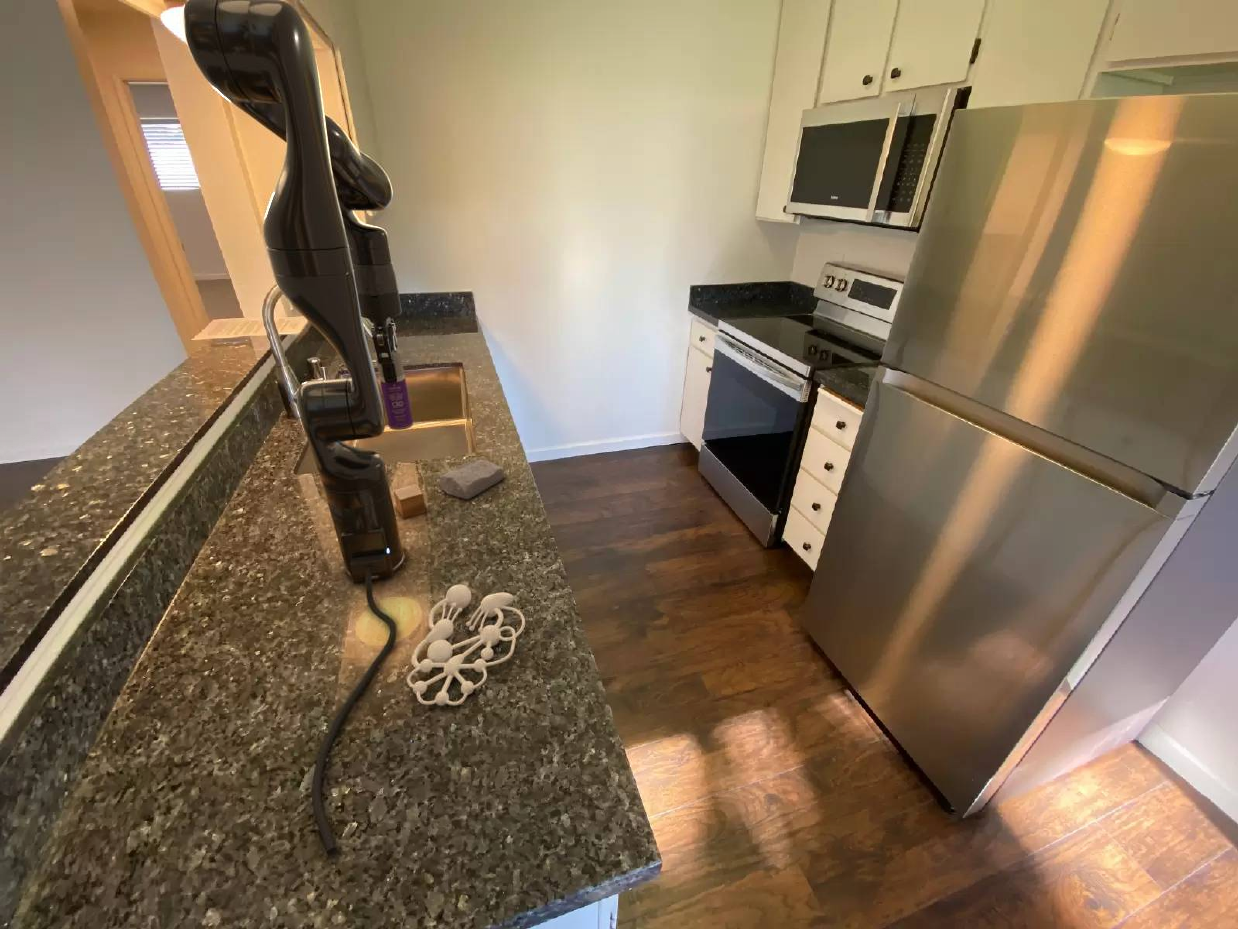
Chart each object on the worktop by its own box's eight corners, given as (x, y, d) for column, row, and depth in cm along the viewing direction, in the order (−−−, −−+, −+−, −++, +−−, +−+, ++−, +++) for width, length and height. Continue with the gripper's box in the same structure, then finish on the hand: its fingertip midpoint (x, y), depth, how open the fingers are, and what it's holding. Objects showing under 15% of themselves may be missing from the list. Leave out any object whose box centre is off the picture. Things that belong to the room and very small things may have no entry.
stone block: (437, 496, 113) (468, 502, 108) (432, 475, 111) (463, 480, 106) (477, 475, 122) (508, 480, 117) (473, 456, 121) (504, 460, 115)
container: (397, 432, 105) (383, 359, 98) (384, 426, 108) (370, 355, 101) (417, 425, 109) (405, 354, 102) (404, 419, 111) (392, 350, 104)
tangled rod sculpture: (488, 725, 65) (488, 705, 63) (380, 701, 67) (376, 680, 64) (534, 612, 82) (535, 593, 80) (447, 594, 83) (445, 575, 81)
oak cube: (426, 512, 105) (422, 493, 103) (403, 519, 102) (399, 500, 100) (418, 502, 108) (415, 484, 106) (397, 508, 105) (393, 490, 103)
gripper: (359, 282, 101) (376, 368, 109) (347, 296, 88) (367, 391, 96) (400, 282, 103) (414, 366, 111) (394, 295, 90) (410, 388, 98)
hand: (392, 377), depth 103 cm, fingers closed on container, 4 cm apart
